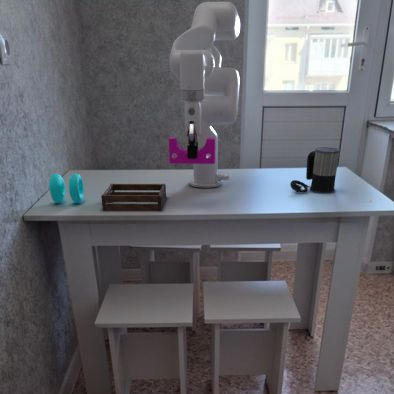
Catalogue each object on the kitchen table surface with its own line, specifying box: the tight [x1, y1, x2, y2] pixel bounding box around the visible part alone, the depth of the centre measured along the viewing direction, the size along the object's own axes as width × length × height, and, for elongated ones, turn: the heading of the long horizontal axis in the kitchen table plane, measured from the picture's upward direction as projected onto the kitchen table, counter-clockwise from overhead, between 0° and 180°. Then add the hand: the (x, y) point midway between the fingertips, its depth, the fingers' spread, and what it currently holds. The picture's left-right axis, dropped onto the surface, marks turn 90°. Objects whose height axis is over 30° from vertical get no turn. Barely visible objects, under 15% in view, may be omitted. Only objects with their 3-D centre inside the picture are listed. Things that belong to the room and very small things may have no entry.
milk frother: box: [289, 146, 341, 194], centre depth 182 cm, size 14×16×15 cm
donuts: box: [49, 173, 85, 204], centre depth 171 cm, size 10×10×10 cm
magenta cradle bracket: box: [168, 136, 216, 165], centre depth 162 cm, size 15×6×8 cm, turn 85°
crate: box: [100, 183, 167, 212], centre depth 171 cm, size 20×17×5 cm
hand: (192, 156), depth 163 cm, fingers closed on magenta cradle bracket, 6 cm apart
